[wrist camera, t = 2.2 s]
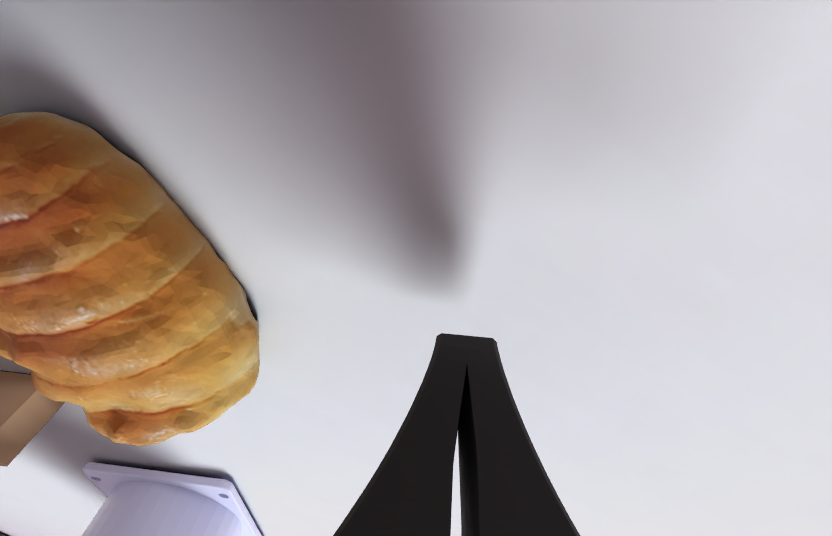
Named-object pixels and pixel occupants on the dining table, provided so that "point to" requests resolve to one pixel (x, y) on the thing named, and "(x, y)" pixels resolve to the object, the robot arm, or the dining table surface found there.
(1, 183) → the pastry
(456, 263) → the dining table surface
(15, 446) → the frame
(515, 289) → the dining table surface
